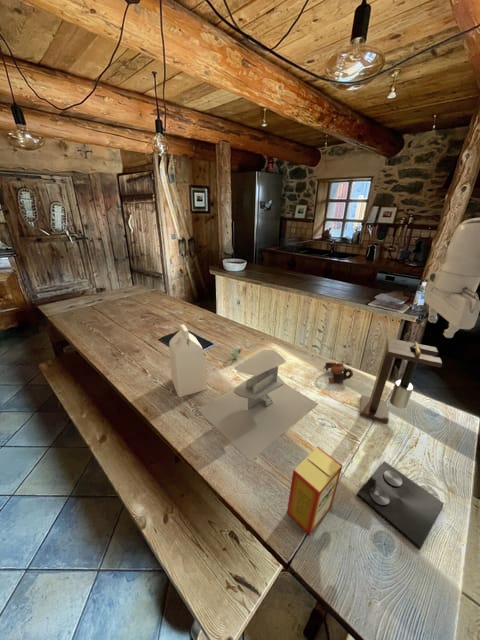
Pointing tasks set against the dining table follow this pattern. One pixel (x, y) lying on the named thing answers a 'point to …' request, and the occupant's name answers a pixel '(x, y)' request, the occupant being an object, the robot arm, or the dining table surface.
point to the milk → (187, 363)
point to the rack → (397, 349)
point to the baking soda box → (313, 489)
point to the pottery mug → (338, 372)
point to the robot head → (236, 352)
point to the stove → (401, 503)
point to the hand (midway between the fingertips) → (439, 328)
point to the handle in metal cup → (405, 382)
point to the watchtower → (257, 406)
